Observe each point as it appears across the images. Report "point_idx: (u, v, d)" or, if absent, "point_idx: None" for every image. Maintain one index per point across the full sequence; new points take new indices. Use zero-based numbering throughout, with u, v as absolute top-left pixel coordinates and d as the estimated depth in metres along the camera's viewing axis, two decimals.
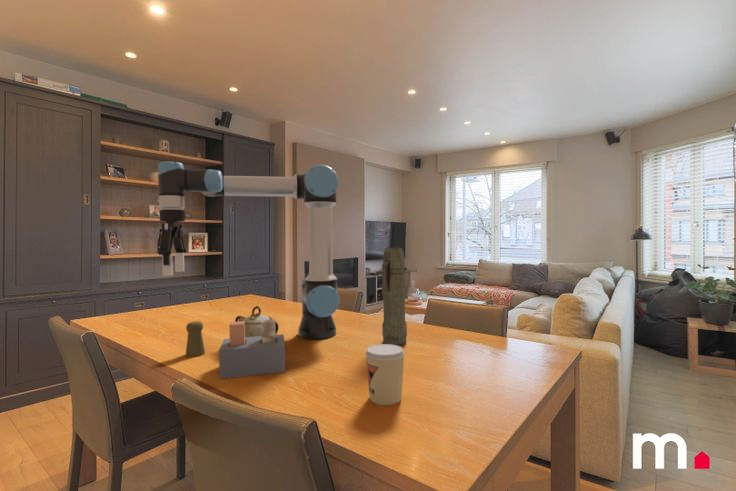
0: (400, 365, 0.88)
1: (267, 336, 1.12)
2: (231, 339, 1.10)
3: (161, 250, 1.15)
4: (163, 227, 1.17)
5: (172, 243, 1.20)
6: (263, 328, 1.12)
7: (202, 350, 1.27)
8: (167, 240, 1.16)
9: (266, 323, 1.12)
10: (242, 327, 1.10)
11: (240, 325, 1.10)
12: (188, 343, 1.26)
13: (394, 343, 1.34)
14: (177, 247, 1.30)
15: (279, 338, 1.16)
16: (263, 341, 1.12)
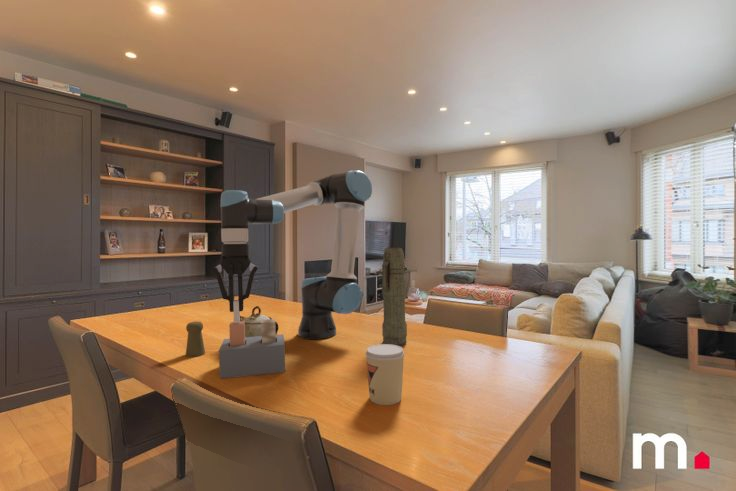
0: (400, 365, 0.88)
1: (267, 336, 1.12)
2: (231, 339, 1.10)
3: None
4: None
5: (231, 286, 1.10)
6: (263, 328, 1.12)
7: (202, 350, 1.27)
8: (219, 286, 1.10)
9: (266, 323, 1.12)
10: (242, 327, 1.10)
11: (240, 325, 1.10)
12: (188, 343, 1.26)
13: (394, 343, 1.34)
14: None
15: (279, 338, 1.16)
16: (263, 341, 1.12)
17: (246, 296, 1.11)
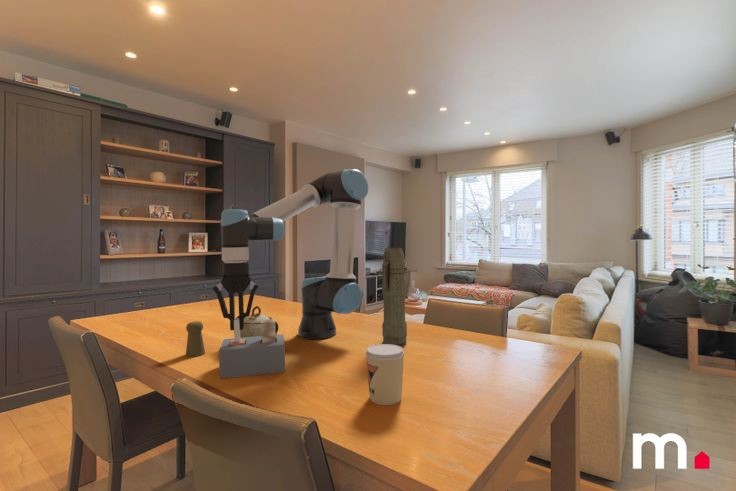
0: (400, 365, 0.88)
1: (267, 336, 1.12)
2: None
3: None
4: None
5: (232, 304, 1.10)
6: (263, 328, 1.12)
7: (202, 350, 1.27)
8: (220, 305, 1.10)
9: (266, 323, 1.12)
10: None
11: (240, 344, 1.10)
12: (188, 343, 1.26)
13: (394, 343, 1.34)
14: None
15: (279, 338, 1.16)
16: (263, 341, 1.12)
17: (247, 314, 1.11)
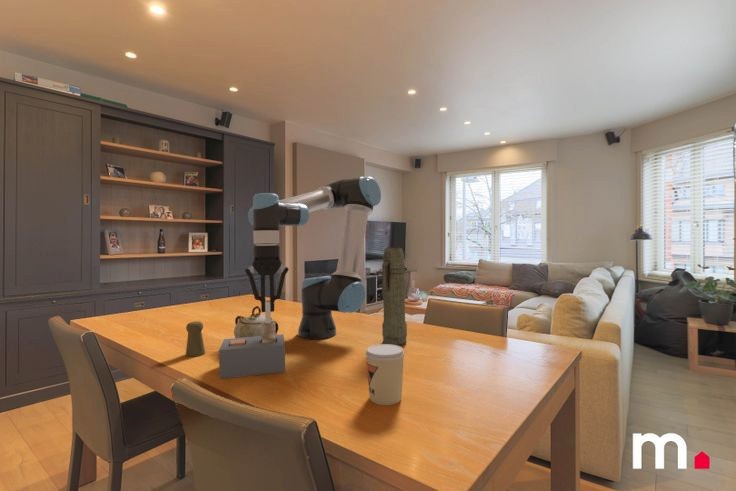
0: (400, 365, 0.88)
1: (267, 338, 1.12)
2: None
3: None
4: None
5: (263, 287, 1.12)
6: (263, 331, 1.12)
7: (202, 350, 1.27)
8: (252, 287, 1.12)
9: (266, 325, 1.12)
10: None
11: (240, 344, 1.10)
12: (188, 343, 1.26)
13: (394, 343, 1.34)
14: None
15: (279, 338, 1.16)
16: None
17: (277, 297, 1.13)
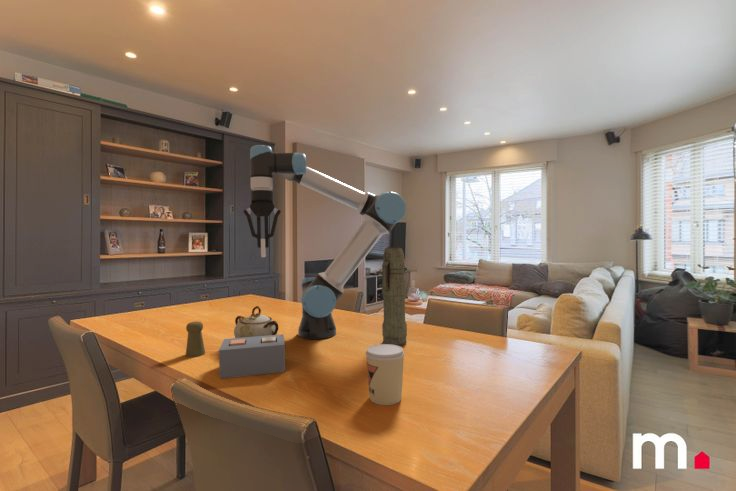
0: (400, 365, 0.88)
1: None
2: None
3: None
4: None
5: (259, 225, 1.32)
6: None
7: (202, 350, 1.27)
8: None
9: (266, 341, 1.12)
10: None
11: (240, 344, 1.10)
12: (188, 343, 1.26)
13: (394, 343, 1.34)
14: None
15: (279, 338, 1.16)
16: None
17: (271, 235, 1.33)
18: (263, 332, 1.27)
